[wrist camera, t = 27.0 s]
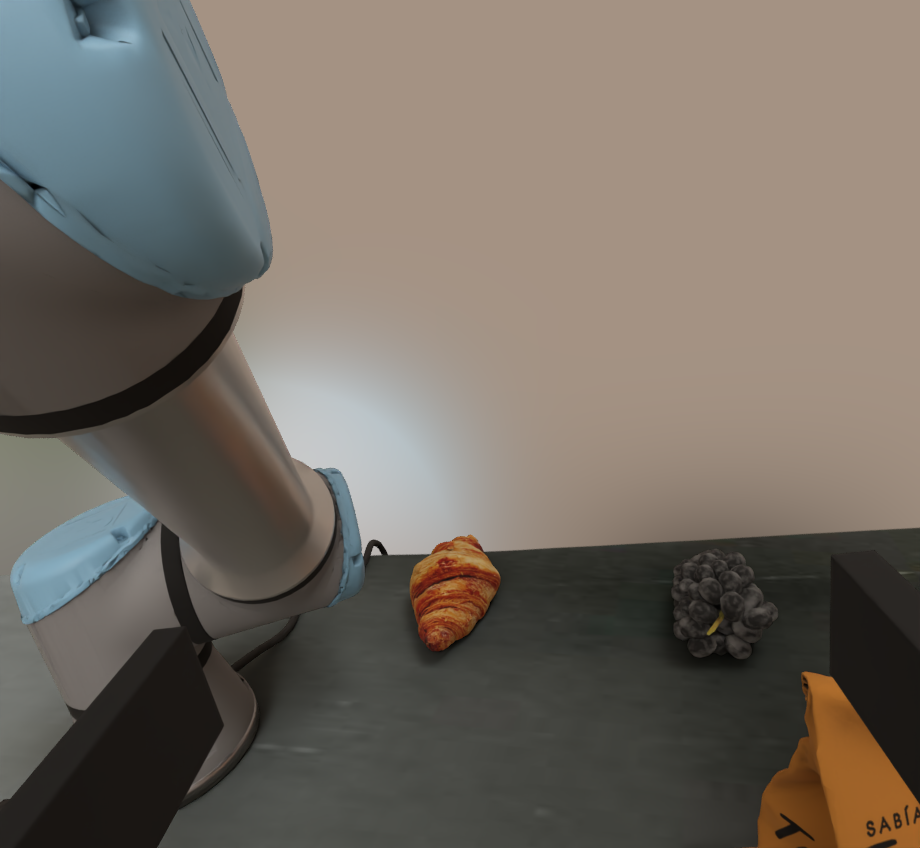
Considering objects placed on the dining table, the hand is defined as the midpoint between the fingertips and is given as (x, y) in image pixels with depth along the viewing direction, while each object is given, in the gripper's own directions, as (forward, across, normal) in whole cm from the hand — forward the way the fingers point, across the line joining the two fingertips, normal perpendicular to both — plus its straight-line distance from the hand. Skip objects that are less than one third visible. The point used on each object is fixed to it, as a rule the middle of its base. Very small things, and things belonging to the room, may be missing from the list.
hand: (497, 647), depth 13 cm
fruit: (+40, +15, -32) cm, 54 cm away
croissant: (+48, -10, -32) cm, 59 cm away
